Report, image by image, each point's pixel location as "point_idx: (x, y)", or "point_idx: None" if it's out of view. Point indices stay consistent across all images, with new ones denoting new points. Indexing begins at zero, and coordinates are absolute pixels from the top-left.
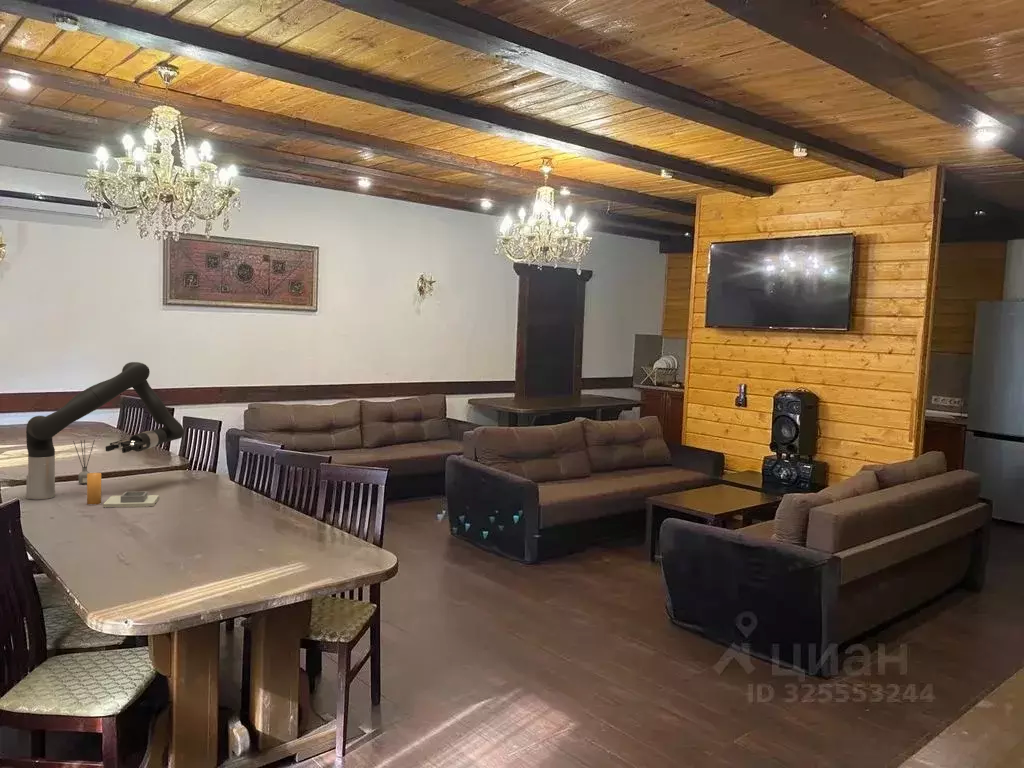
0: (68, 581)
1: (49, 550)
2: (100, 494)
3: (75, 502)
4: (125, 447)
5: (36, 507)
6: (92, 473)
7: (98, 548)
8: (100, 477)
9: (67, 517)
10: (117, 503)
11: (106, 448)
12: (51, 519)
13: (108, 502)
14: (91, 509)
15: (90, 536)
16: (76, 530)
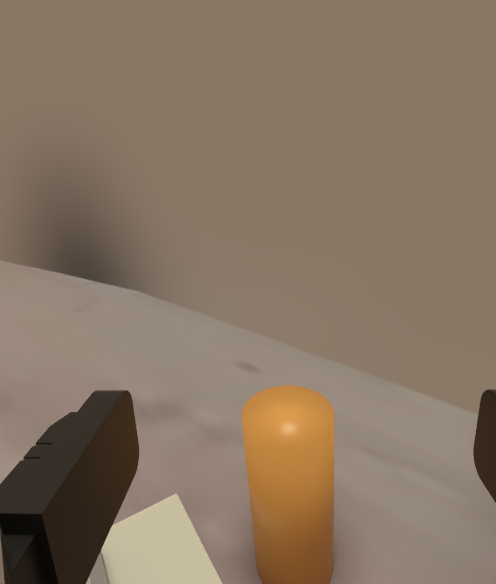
0: (10, 264)
1: (92, 288)
2: (254, 532)
3: (395, 527)
4: (76, 418)
5: (422, 409)
6: (306, 414)
7: (9, 308)
8: (245, 443)
9: (210, 381)
10: (111, 533)
11: (486, 412)
12: (236, 359)
13: (171, 529)
14: (210, 469)
15: (53, 330)
16: (107, 338)
